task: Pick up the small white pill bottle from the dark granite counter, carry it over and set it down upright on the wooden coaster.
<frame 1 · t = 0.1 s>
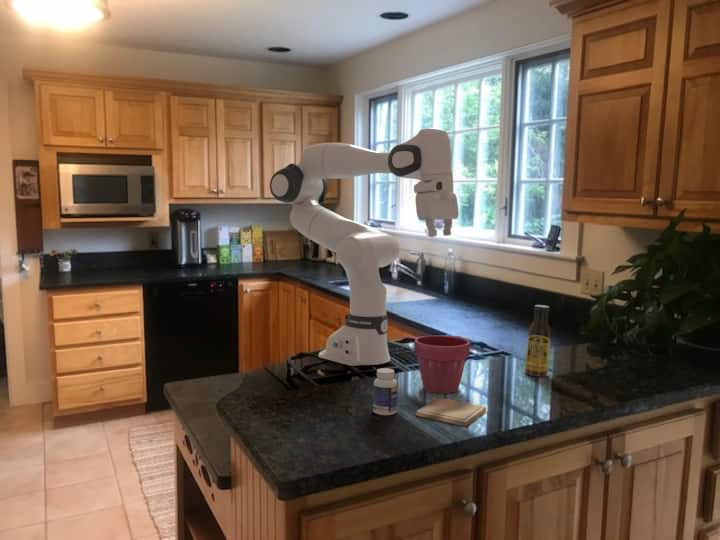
hand: (440, 236, 168), 39 cm above the worktop, tool pointing down, fingers open, 8 cm apart
pill bottle: (384, 412, 138), on the worktop
plant pot: (440, 389, 156), on the worktop
wooden coaster: (451, 413, 137), on the worktop
sauce bottle: (536, 375, 171), on the worktop
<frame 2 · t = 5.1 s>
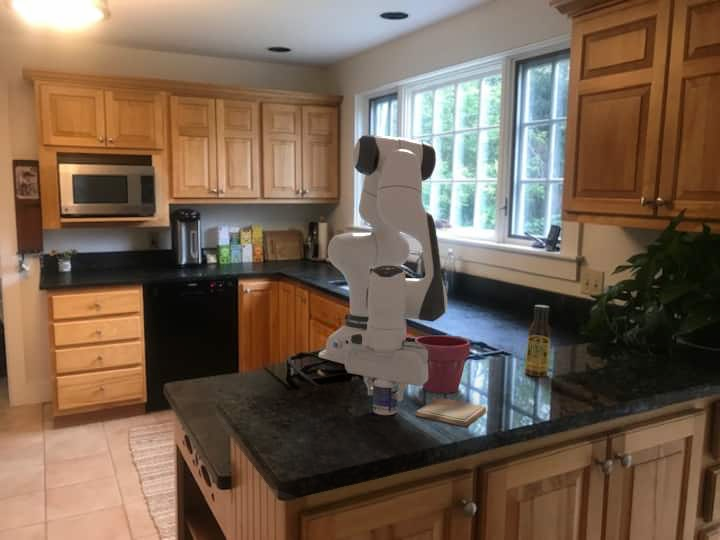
hand: (385, 397, 137), 3 cm above the worktop, tool pointing down, fingers closed on pill bottle, 5 cm apart
pill bottle: (384, 412, 138), on the worktop, touching gripper
everything else where it was.
when the fingers open (5 cm above the worktop, at t = 11.7 s): pill bottle stays where it is, resting on wooden coaster.
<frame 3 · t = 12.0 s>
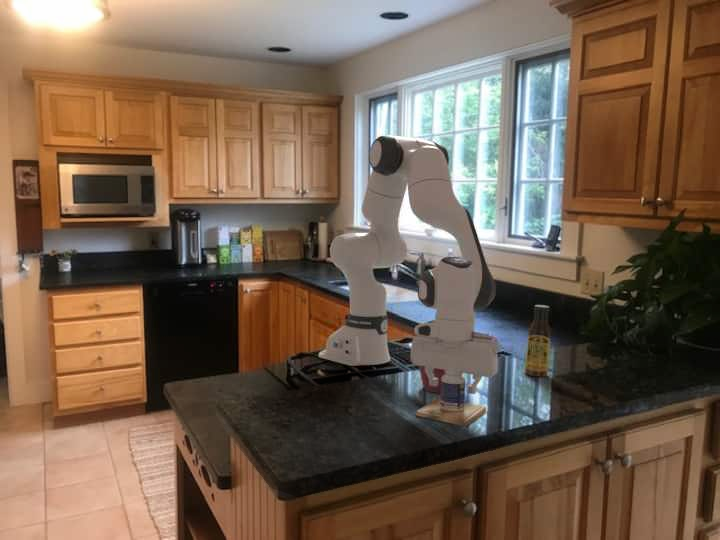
hand: (452, 389, 137), 6 cm above the worktop, tool pointing down, fingers open, 8 cm apart
pill bottle: (452, 409, 137), point 1 cm above the worktop, touching wooden coaster
everything else where it was.
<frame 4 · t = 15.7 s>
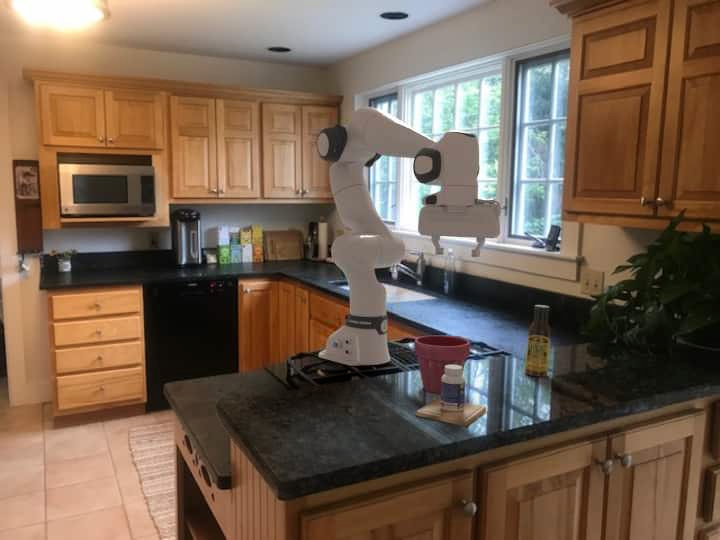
hand: (457, 255, 147), 35 cm above the worktop, tool pointing down, fingers open, 8 cm apart
nothing on the worktop moved.
at the end: pill bottle inside the target area on the wooden coaster (0.1 cm from its centre), point 0.9 cm above the wooden coaster's base; pill bottle tilted 0°; the gripper is holding nothing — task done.
